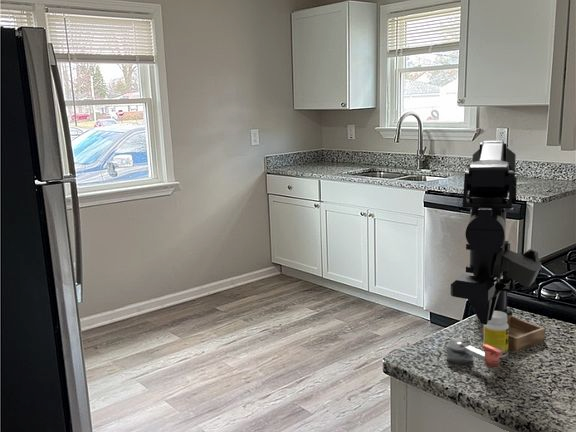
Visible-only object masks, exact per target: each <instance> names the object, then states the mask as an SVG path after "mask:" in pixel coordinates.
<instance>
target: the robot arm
mask: <svg viewBox="0 0 576 432" xmlns="http://www.w3.org/2000/svg"><path fill="white" fill-rule="evenodd" d="M507 146H508V143H507V141H504V140H483V141H482V142H481V141H480V143H479V148H478V150H477V151H475V152H474V153H473V154H472V160H471V161H472V162H470V164H469V166H468V170H464V177H463V192H462V193H463V194H462V208H463V209H470V211H469V215H470V216H469V217H470V218H469V220H468V224H467V226H466V229H465V239H466V243H465V250H468V251H469V264H467V265H466V266H465V273H468V274H469V275H468V274H462V275H461V276H460V277H458V278H457V279H455V280H454V281H453V282H451V284H450V296H452V297H455V298H459V299H465V300H468V302H469V303H470V305H471V307H472V309H473V312H474V313H475V316H476V317H477V319H478V321H479V324H481V325H487V323H488V321H490V320H491V319H492V316H493V312H494V311H501V312H504V313H506V314H507V316H509V315H511V314H513V310H511V309H508V292H509V293H512V292H513V291H515V290H516V282H517V283H519V285H520V286H523V287H527V288H529V287H532V286H531V285H532V284H533V283H534V282H535V281H536V279H537V277H538V275H539V273H540V271H541V269H542V262H541V261H540V260H539V252H538V251H536V250H534V249H532V248H529V249H528V250H527V251H525V252H524V253H522V254H521V252H520V251H518V252H515V251H512V250H511V243H510V242H509V240H506V230H507V229H506V223H507V222H506V221H507V210H506V209H508V210H509V209H510V210H511V209H513V203H517V185H518V184H517V182H518V181H517V179H518V178H517V176H516V160H517V159H516V153H515V152H514V151H512V150H511V149H509V148H508V147H507ZM507 199H508V201H507ZM470 274H472V275H470Z"/></svg>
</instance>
